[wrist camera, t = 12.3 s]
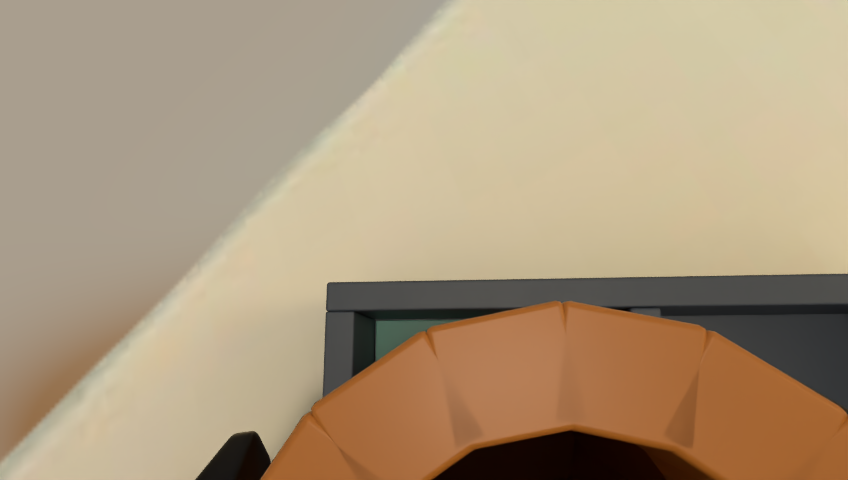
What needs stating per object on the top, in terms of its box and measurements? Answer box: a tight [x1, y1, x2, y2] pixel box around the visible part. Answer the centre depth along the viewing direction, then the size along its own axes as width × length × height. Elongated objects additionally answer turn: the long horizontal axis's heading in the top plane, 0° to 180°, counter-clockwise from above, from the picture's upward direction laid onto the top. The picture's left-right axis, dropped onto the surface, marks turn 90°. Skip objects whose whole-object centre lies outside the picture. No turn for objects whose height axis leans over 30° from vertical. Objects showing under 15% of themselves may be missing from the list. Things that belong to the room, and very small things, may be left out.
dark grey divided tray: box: [323, 274, 848, 409], centre depth 14 cm, size 9×17×4 cm, turn 90°
